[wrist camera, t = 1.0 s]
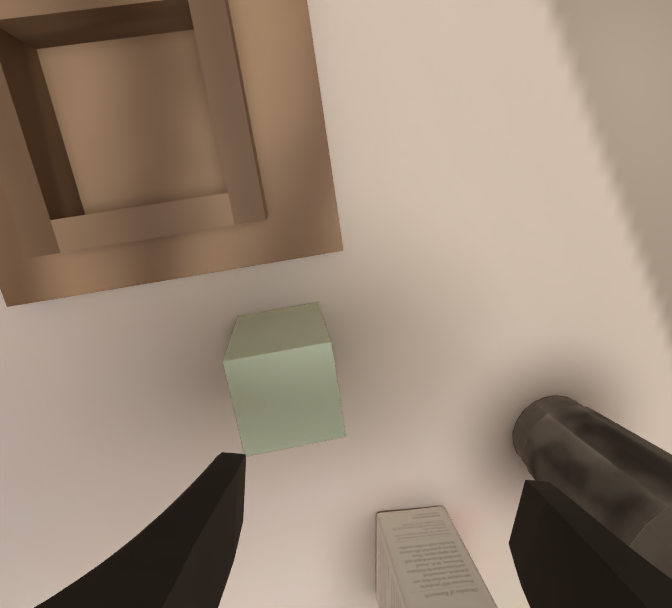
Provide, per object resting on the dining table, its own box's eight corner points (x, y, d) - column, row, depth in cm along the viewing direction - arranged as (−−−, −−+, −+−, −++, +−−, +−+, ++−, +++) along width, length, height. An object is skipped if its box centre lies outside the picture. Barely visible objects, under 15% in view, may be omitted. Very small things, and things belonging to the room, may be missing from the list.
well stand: (19, 301, 20) (-41, 327, 17) (-95, -24, 17) (-205, -87, 13) (340, 247, 22) (353, 260, 18) (294, -67, 18) (298, -136, 14)
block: (253, 389, 23) (244, 456, 17) (238, 316, 22) (222, 361, 16) (330, 374, 23) (346, 436, 18) (318, 301, 22) (331, 341, 16)
